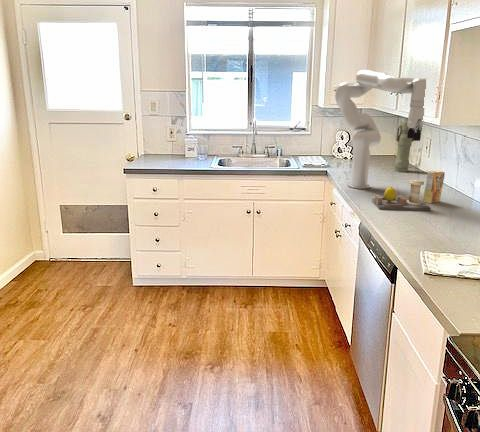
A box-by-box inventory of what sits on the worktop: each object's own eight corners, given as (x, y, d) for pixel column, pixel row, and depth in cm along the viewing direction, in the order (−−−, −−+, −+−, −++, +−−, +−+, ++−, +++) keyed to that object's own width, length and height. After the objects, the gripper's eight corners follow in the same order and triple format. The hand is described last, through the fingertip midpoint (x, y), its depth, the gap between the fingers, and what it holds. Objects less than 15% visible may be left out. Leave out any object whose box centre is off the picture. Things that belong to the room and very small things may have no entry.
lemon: (397, 203, 222) (399, 187, 219) (390, 204, 219) (392, 188, 216) (388, 200, 226) (389, 184, 224) (380, 202, 223) (382, 186, 221)
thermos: (389, 169, 312) (395, 117, 301) (405, 169, 313) (412, 117, 303) (395, 172, 303) (402, 118, 293) (412, 172, 305) (419, 119, 295)
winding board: (372, 201, 229) (373, 192, 228) (420, 203, 229) (421, 194, 227) (379, 209, 216) (380, 200, 215) (430, 211, 215) (431, 201, 214)
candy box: (433, 199, 236) (437, 170, 232) (440, 201, 233) (445, 172, 228) (422, 201, 232) (426, 172, 227) (429, 203, 228) (434, 173, 224)
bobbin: (403, 201, 225) (406, 179, 222) (418, 202, 225) (421, 180, 222) (408, 205, 218) (411, 182, 215) (422, 205, 218) (426, 183, 215)
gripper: (405, 103, 234) (400, 137, 239) (416, 105, 217) (411, 141, 222) (419, 103, 233) (415, 137, 238) (432, 105, 217) (426, 142, 222)
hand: (413, 139), depth 230 cm, fingers open, 9 cm apart
